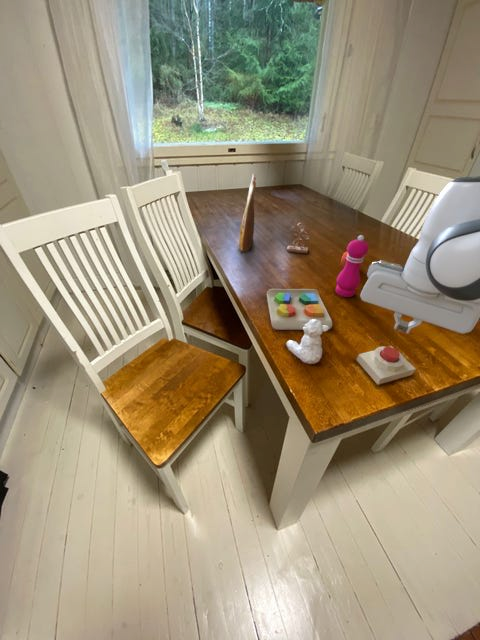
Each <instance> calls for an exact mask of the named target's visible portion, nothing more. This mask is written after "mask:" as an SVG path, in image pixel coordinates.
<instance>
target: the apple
mask: <svg viewBox="0 0 480 640" xmlns="http://www.w3.org/2000/svg"><path fill="white" fill-rule="evenodd" d="M347 254H348V251H347V250H346V251H345V252H344V253H343V254H342V255H341V259H340V263H341V266H342V268H344V267H345V265H346V263H347V259H346V257H347ZM364 261H365V258H364V259H363V262H361V264H360V267H359V269H360V268H362V266H363V264H364Z"/></svg>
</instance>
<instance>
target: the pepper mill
mask: <svg viewBox="0 0 480 640" xmlns="http://www.w3.org/2000/svg"><path fill="white" fill-rule="evenodd" d="M364 239H365V236H364V235H362V234H360V235H358V236H357V239H353V240H352V241H350V242H349V243H348V244H347V248H346V252H347V251H348V254H347V257H346V259H347V263H346V265H345V267H343V269H342V270H341V271H340V272H339V274H338V275H337V277H336V286H335V293H336V294H337V295H339V296H340V297H345V298H351V297H353V296H355V293H356V290H357V289H356V288H358V287H359V286H360V283H361V275H360V268H361V267H360V264H361V262H363V259H364V260H365V256H366V255H367V254H368V252H369V247H370V246H369V243H368V242H367V241H366V240H364ZM363 263H364V262H363ZM359 267H360V268H359Z"/></svg>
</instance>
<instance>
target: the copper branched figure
mask: <svg viewBox="0 0 480 640" xmlns="http://www.w3.org/2000/svg"><path fill="white" fill-rule="evenodd" d="M300 224H301V225H300ZM305 229H306V224H305V223H304V222H298V223H297V224H296V226H293V225H292V226H290V232H291V235H293V236H295V238H294V240H293V242H292V243H291V244H290V245H287V248H286V252H291V253H292V252H293V253H301V254H308V253H309V248H308V247H307V246H306V245H305V243H304V240H305V241H308V240H309V239H310V234H309V233H308V231H305ZM293 231H295V232H296V233H294V232H293ZM303 233H306V234H307V235H304V234H303ZM297 234H298V235H297ZM301 234H302V237H301ZM297 236H298V237H297ZM296 240H297V241H298V242H296ZM300 241H301V242H302V244H303V245H301V243H300ZM295 242H296V244H294V243H295Z"/></svg>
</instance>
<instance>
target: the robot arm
mask: <svg viewBox="0 0 480 640" xmlns="http://www.w3.org/2000/svg"><path fill="white" fill-rule="evenodd" d="M366 276H367V278H368V279H367V281H366V282H365V284H364V286H363V288H362V290H361V292H360V294H359V296H360V299H361V301H362V302H365V303H368V304H371V305H374V306H377V307H379V308H383V309H387V310H389V311H392V312H394V314H393V318H394V320H395V323H394V326H393V329H394V330H396V331H399V332H402V333H404V334H407V335H408V334H409V333H410V331H411V330H412V329H414V328H416V327H419V326H420V325H421V324H422V323H423V322H425V323H428V324H431V325H435V326H438V327H440V328H443V329H447V330H449V331H452V332H454V333H455V332H456V333H458V334H461V335H462V334H463V335H464V334H469V333H470V332H472V331H473V330H474V328H475V326H476V325H477V324H478V322H479V319H480V175H478V176H465V177H464V176H463V177H458V178H455V179H453V180H451V181H449V182H448V183H447V184H446V185H444V187H443V188H442V190H441V191H440V192H439V194H438V195H437V197H436V198H435V200H434V202H433V204H432V206H431V208H430V210H429V212H428V213H427V216H426V218H425V220H424V222H423V224H422V227H421V228H420V236H419V239H418V241H417V242H416V244H415V246H413V248H412V249H411V251H410V254H409V256H408V258H407V260H406V263H405V265H403V264H400V263H395V262H390V261H387V260H383V259H380V260H379V261H373V262H372V263H370V264H369V266H368V269H367V272H366ZM403 315H404V316H407V317H410V318H413V320H411V321H409V322H408V321H405V320H403V319H402V316H403Z"/></svg>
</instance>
